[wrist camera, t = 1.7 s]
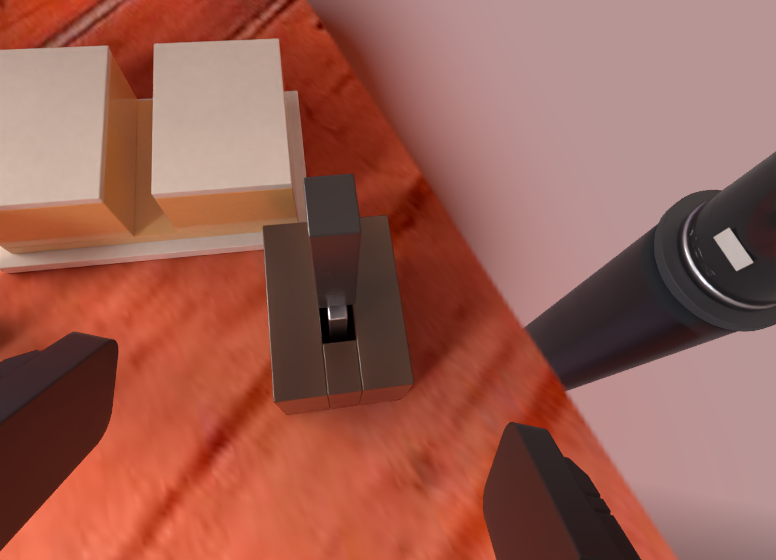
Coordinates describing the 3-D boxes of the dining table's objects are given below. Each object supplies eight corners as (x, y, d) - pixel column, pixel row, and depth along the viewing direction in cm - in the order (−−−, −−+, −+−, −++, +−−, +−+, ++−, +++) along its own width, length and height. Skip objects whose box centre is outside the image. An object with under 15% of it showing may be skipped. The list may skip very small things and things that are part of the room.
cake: (298, 98, 44) (290, 27, 37) (313, 245, 39) (307, 195, 32) (24, 113, 41) (-42, 39, 34) (5, 274, 36) (-76, 226, 29)
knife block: (379, 256, 40) (387, 214, 33) (401, 399, 36) (414, 383, 29) (275, 266, 38) (262, 225, 32) (286, 415, 35) (273, 402, 28)
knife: (346, 303, 38) (351, 157, 20) (352, 356, 37) (364, 249, 19) (319, 306, 38) (301, 161, 20) (325, 359, 36) (310, 254, 19)
